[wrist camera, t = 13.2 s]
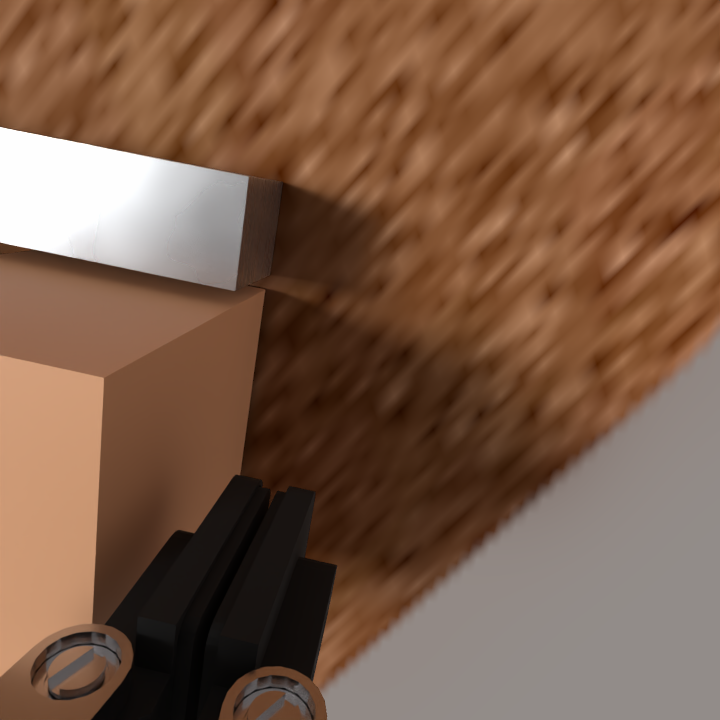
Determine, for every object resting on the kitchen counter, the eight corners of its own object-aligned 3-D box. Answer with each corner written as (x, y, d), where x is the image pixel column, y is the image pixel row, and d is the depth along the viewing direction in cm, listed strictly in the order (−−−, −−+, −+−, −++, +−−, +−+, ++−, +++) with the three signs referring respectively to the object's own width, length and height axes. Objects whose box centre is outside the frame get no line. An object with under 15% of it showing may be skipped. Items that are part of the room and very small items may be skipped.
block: (60, 246, 15) (-300, 289, 8) (265, 289, 15) (103, 378, 7) (55, 497, 18) (-224, 719, 10) (231, 537, 17) (83, 799, 10)
